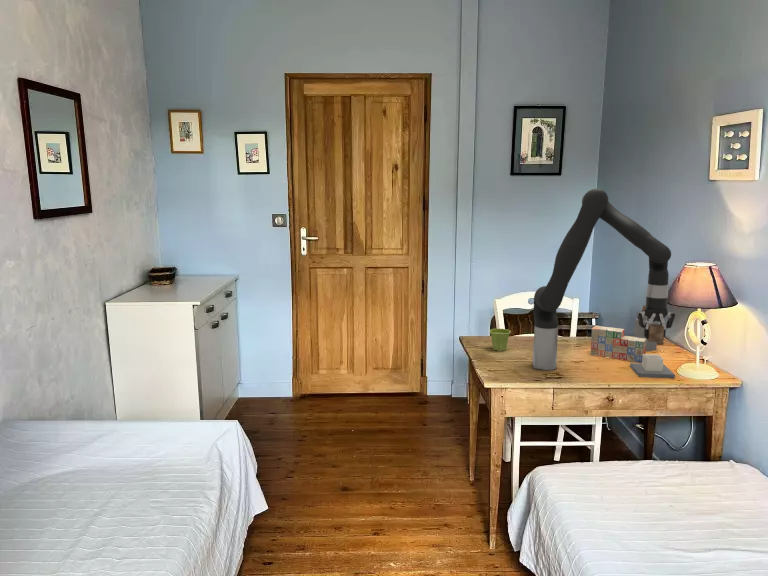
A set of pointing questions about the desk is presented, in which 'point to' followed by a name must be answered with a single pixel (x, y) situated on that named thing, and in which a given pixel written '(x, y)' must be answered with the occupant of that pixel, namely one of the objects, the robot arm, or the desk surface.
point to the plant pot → (499, 338)
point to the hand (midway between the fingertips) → (654, 337)
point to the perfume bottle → (640, 334)
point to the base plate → (651, 373)
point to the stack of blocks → (616, 344)
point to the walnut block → (656, 333)
